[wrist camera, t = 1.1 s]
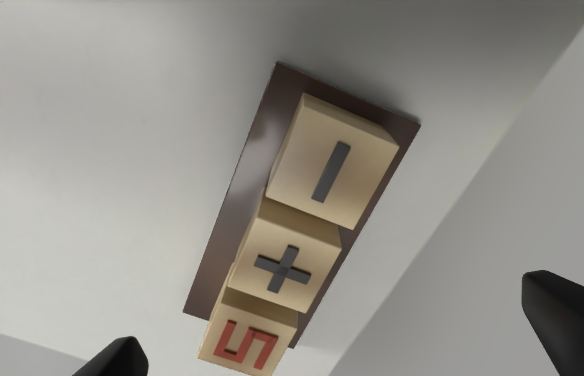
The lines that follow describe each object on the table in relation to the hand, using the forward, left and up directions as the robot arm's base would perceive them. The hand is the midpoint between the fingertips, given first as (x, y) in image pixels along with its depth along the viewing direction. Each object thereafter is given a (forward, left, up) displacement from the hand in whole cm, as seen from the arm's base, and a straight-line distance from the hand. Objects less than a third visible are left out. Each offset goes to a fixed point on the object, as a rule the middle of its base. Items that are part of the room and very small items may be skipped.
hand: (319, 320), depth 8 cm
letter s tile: (-1, +10, -12) cm, 16 cm away
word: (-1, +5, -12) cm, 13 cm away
